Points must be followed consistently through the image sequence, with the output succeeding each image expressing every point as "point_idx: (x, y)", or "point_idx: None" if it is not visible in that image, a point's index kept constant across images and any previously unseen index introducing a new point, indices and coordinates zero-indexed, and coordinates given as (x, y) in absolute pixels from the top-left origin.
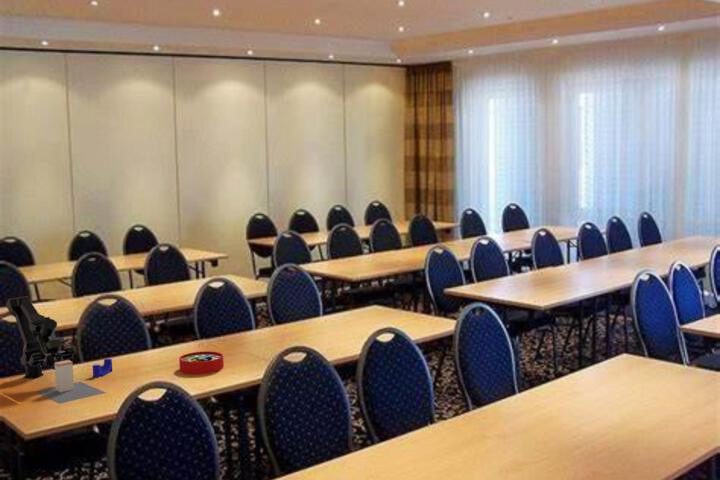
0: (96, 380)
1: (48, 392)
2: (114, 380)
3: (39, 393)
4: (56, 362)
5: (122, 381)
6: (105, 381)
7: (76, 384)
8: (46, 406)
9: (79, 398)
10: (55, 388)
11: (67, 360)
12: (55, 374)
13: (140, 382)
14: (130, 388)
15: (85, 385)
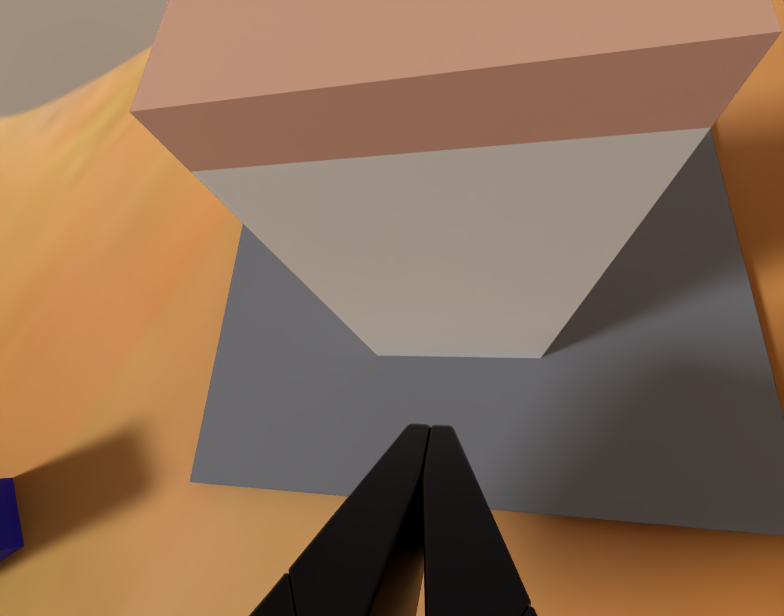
0: (72, 432)
1: (647, 350)
2: (25, 302)
3: (766, 399)
4: (666, 26)
5: (28, 232)
6: (69, 332)
7: (276, 407)
8: (779, 4)
9: None
10: (514, 449)
11: (192, 62)
12: (595, 270)
13: (13, 133)
14: (133, 60)
15: (251, 299)
